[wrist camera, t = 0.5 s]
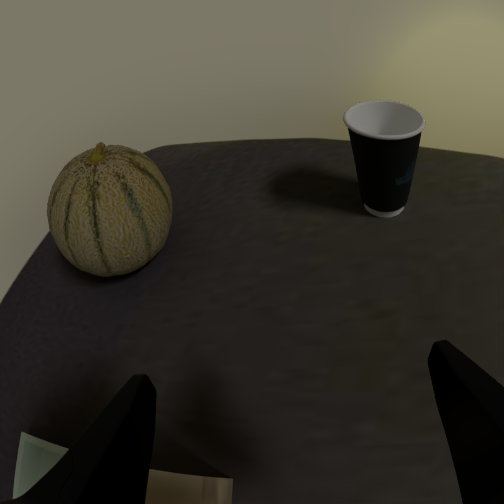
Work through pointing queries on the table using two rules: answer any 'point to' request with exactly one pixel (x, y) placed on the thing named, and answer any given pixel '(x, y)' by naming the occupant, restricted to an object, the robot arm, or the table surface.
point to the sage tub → (34, 461)
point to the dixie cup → (384, 152)
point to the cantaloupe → (110, 210)
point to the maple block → (187, 489)
